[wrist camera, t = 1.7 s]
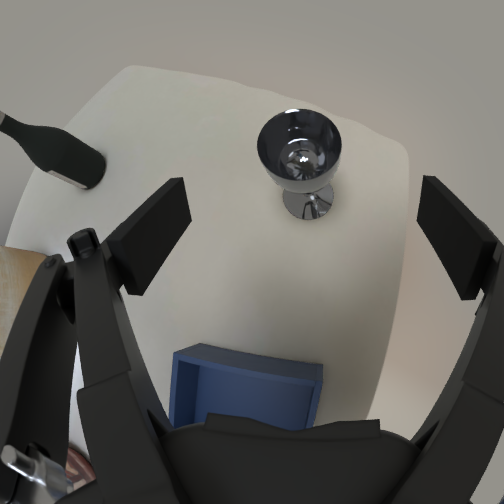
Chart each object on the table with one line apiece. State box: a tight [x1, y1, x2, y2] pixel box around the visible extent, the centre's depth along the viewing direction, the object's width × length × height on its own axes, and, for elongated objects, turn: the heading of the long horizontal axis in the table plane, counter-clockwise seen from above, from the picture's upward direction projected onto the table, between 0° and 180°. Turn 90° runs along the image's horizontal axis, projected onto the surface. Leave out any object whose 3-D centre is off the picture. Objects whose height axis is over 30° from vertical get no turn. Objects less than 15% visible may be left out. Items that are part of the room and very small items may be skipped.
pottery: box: [65, 448, 96, 491], centre depth 34 cm, size 18×18×18 cm
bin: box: [169, 343, 323, 431], centre depth 33 cm, size 18×15×8 cm
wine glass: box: [257, 109, 342, 220], centre depth 32 cm, size 8×8×15 cm
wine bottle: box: [0, 111, 105, 189], centre depth 36 cm, size 8×8×30 cm
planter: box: [0, 246, 47, 357], centre depth 40 cm, size 22×22×20 cm
